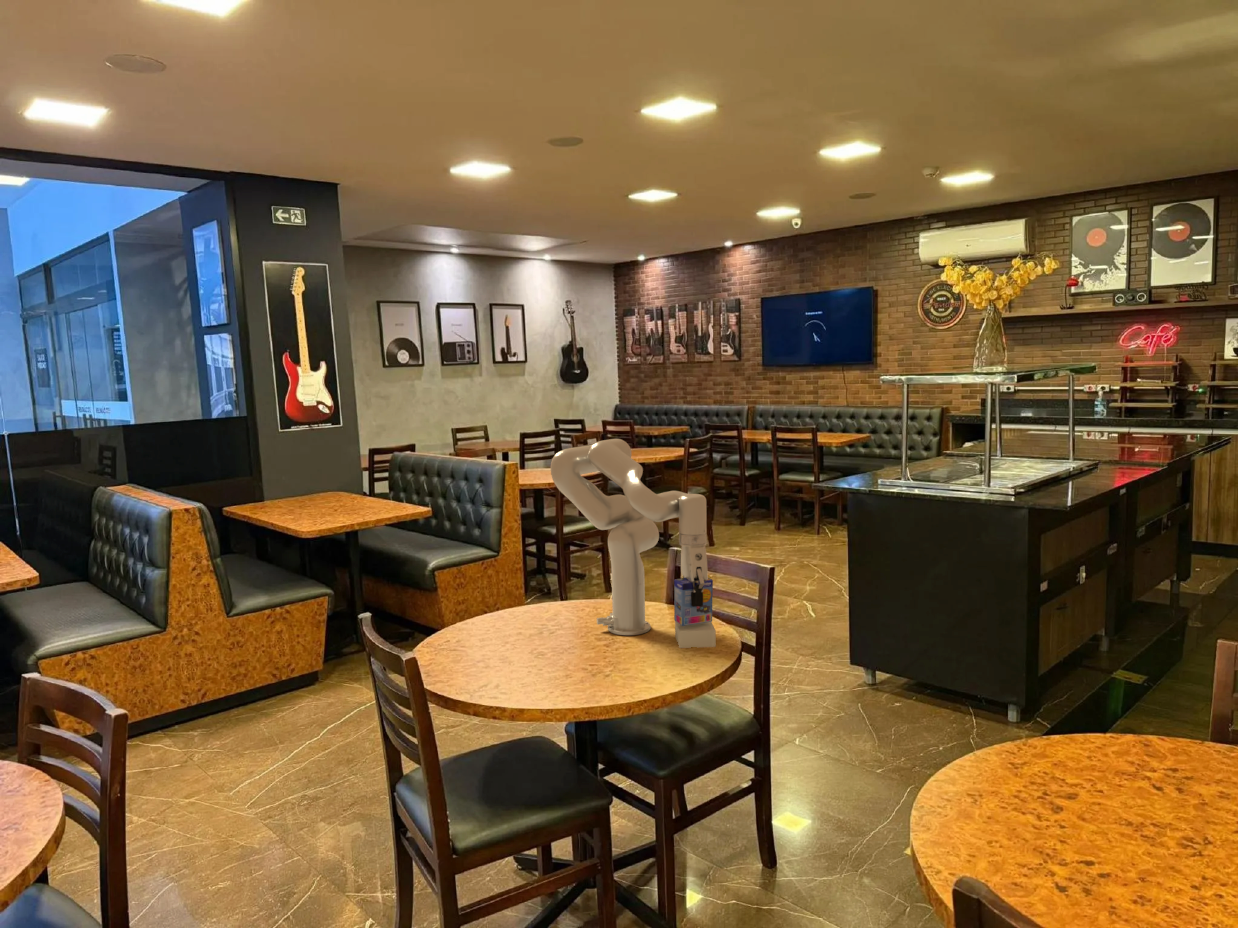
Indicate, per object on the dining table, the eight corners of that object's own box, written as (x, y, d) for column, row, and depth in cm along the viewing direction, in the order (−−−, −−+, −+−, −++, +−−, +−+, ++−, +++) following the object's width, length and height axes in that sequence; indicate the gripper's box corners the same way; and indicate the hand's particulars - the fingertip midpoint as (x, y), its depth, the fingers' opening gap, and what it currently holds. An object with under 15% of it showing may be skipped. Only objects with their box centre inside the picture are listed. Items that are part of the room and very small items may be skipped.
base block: (679, 648, 231) (679, 631, 231) (675, 637, 241) (675, 620, 241) (715, 647, 232) (715, 630, 231) (710, 636, 242) (709, 619, 241)
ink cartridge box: (682, 626, 231) (682, 574, 229) (673, 621, 236) (672, 570, 234) (714, 621, 235) (713, 570, 233) (703, 616, 240) (703, 566, 238)
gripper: (716, 544, 225) (716, 610, 227) (695, 532, 242) (695, 593, 244) (689, 546, 223) (690, 612, 226) (670, 533, 240) (671, 595, 242)
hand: (693, 602), depth 235 cm, fingers open, 6 cm apart
